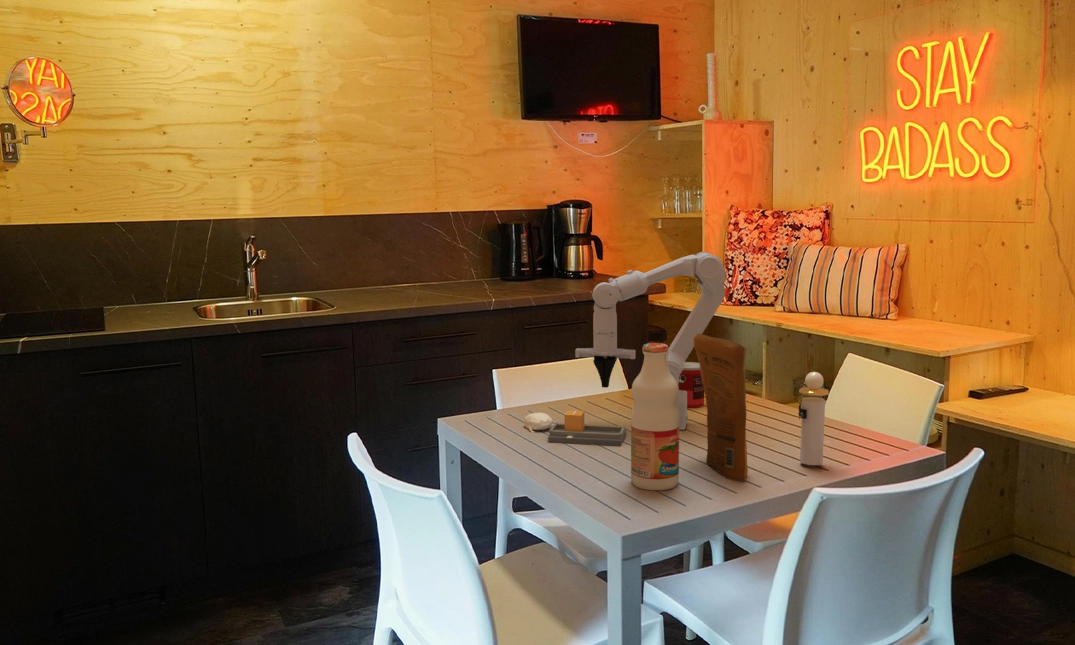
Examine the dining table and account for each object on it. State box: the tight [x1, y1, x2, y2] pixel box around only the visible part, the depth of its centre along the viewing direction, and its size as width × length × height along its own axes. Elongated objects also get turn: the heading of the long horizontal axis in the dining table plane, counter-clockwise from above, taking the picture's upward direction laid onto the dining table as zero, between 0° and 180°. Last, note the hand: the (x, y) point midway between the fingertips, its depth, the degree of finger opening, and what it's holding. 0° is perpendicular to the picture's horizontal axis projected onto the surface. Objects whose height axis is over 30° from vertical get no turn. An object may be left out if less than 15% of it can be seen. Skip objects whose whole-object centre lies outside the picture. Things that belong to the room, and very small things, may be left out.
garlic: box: [523, 412, 555, 433], centre depth 207 cm, size 8×7×4 cm
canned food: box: [678, 361, 705, 409], centre depth 226 cm, size 8×8×11 cm
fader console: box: [547, 421, 628, 447], centre depth 198 cm, size 17×10×2 cm, turn 76°
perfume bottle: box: [798, 371, 830, 466], centre depth 175 cm, size 6×6×20 cm
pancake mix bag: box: [694, 333, 749, 482], centre depth 173 cm, size 7×19×28 cm, turn 13°
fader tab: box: [563, 409, 585, 432], centre depth 199 cm, size 4×4×4 cm
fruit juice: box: [630, 342, 680, 491], centre depth 165 cm, size 9×9×28 cm
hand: (605, 386), depth 207 cm, fingers closed
